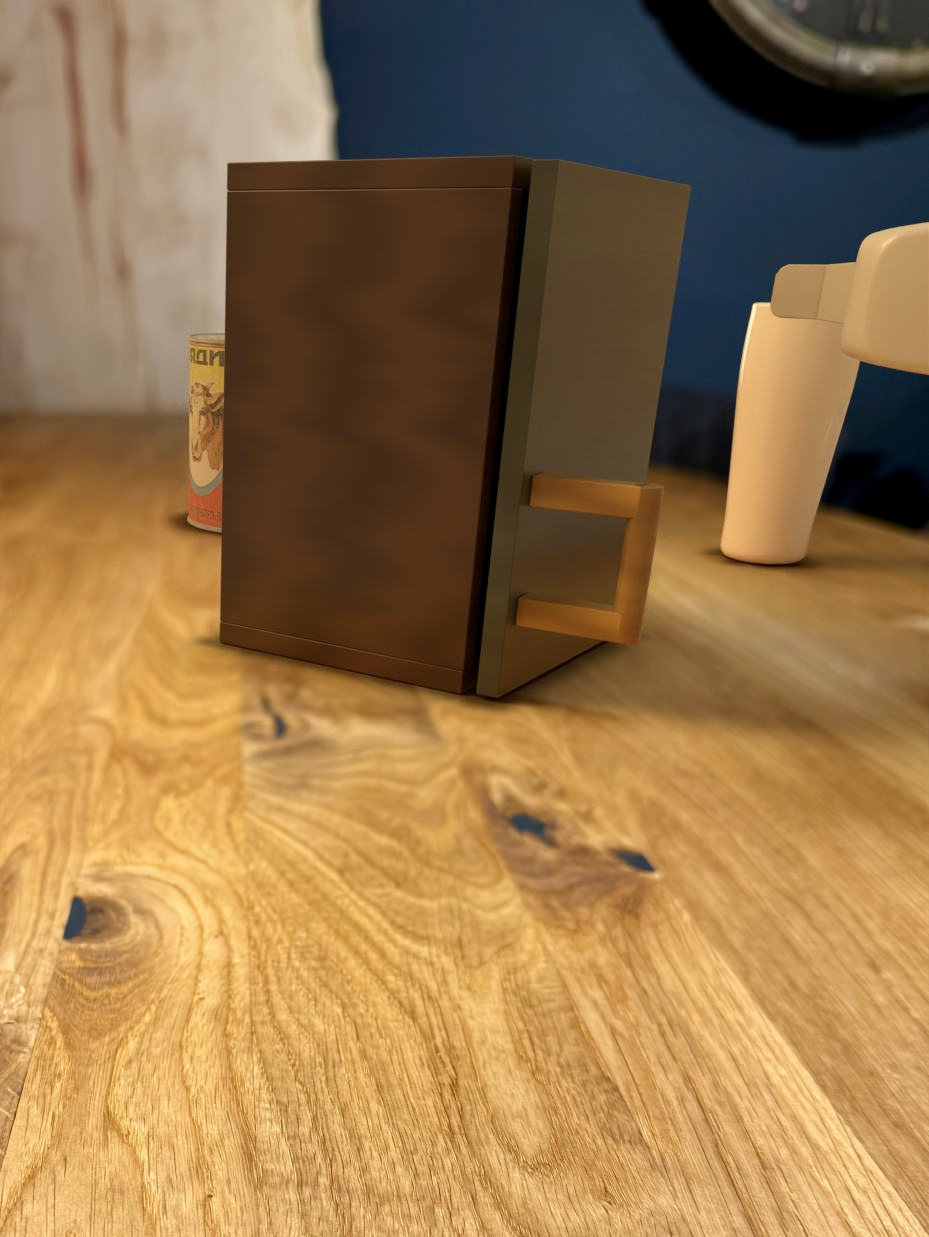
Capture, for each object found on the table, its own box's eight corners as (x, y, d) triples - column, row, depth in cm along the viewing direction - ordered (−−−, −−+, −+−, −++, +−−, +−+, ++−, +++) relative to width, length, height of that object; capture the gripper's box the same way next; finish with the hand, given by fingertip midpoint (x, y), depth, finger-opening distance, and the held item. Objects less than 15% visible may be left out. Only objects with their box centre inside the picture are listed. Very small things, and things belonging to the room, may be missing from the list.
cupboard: (599, 629, 67) (664, 181, 58) (460, 694, 56) (515, 154, 47) (380, 591, 74) (409, 184, 65) (219, 642, 63) (226, 162, 54)
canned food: (158, 515, 94) (157, 333, 89) (287, 504, 100) (293, 332, 94) (243, 542, 86) (247, 342, 80) (379, 529, 91) (391, 341, 86)
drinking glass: (770, 546, 89) (818, 303, 82) (840, 566, 83) (897, 306, 77) (685, 550, 87) (727, 301, 80) (751, 570, 81) (802, 304, 75)
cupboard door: (724, 647, 64) (812, 184, 55) (614, 722, 52) (702, 155, 44) (604, 627, 67) (669, 185, 58) (475, 694, 55) (532, 159, 47)
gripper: (1263, 206, 49) (870, 208, 56) (1240, 170, 34) (709, 179, 41) (1204, 388, 51) (838, 368, 59) (1159, 429, 37) (676, 395, 44)
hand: (783, 290), depth 50 cm, fingers closed
